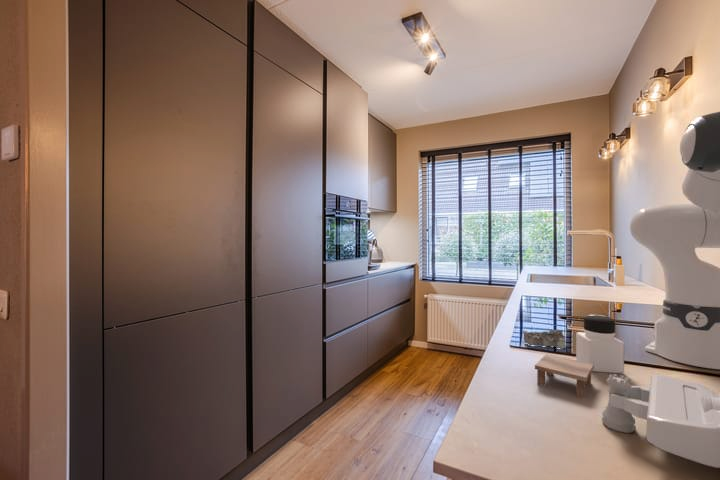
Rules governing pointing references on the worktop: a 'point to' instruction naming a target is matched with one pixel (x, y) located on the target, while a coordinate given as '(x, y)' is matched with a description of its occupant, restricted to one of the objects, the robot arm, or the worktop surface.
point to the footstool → (565, 370)
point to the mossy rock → (545, 338)
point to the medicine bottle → (600, 345)
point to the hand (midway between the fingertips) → (611, 393)
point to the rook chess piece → (614, 415)
